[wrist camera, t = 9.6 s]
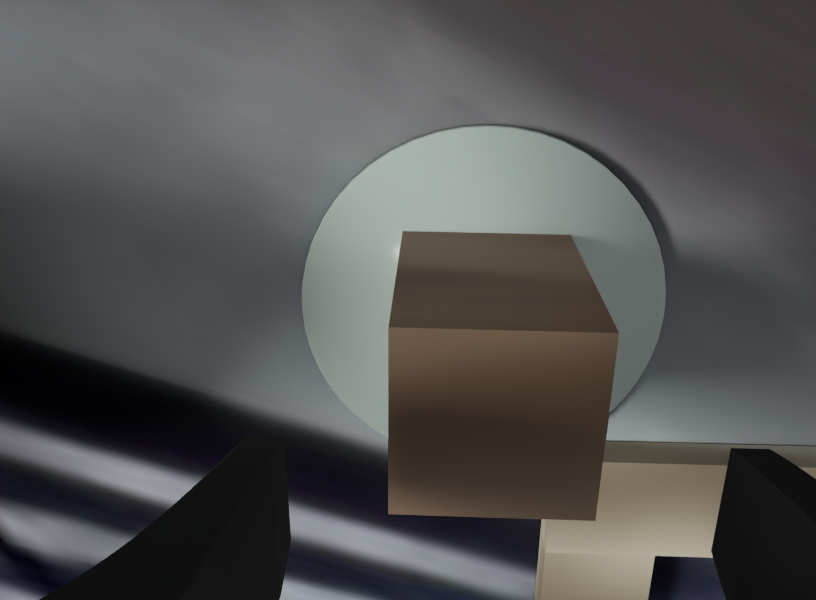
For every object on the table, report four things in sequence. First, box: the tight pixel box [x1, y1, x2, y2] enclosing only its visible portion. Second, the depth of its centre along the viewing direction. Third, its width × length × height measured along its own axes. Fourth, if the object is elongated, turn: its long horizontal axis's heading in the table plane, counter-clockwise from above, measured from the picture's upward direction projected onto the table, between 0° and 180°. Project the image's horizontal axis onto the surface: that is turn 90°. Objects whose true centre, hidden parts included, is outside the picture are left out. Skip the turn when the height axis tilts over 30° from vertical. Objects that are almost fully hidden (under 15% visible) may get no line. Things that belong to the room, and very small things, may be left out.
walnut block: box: [388, 231, 619, 521], centre depth 17 cm, size 4×4×6 cm
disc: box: [302, 124, 666, 438], centre depth 20 cm, size 9×9×1 cm
